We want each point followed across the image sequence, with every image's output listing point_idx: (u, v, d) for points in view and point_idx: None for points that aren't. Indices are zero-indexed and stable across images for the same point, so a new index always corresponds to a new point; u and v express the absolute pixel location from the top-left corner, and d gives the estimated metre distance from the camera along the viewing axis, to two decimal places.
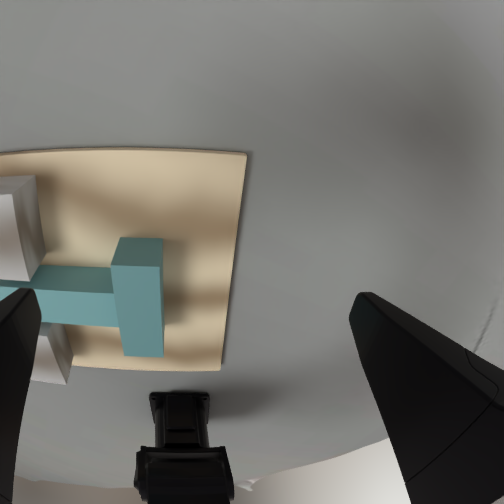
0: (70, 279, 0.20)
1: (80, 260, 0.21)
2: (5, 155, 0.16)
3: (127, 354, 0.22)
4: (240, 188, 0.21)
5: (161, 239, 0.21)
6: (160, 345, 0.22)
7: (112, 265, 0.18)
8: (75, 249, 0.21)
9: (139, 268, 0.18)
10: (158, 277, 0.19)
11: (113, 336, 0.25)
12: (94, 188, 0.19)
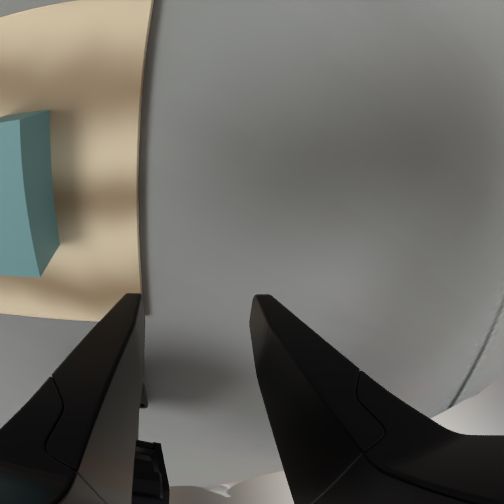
0: None
1: None
2: None
3: None
4: (144, 33, 0.12)
5: (47, 110, 0.13)
6: (31, 255, 0.13)
7: None
8: None
9: None
10: (18, 136, 0.10)
11: None
12: None
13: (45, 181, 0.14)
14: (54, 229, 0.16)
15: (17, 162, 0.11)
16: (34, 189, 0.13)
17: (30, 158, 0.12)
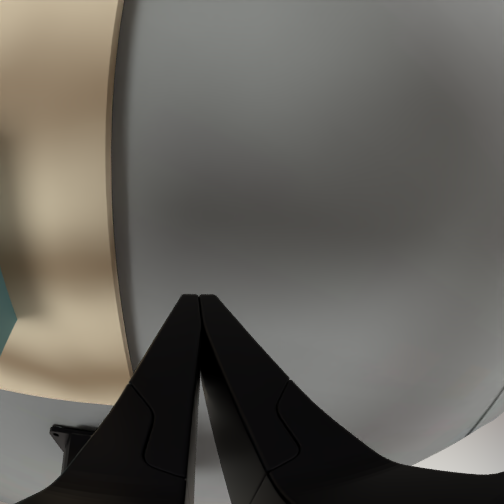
0: None
1: None
2: None
3: None
4: (113, 1, 0.06)
5: None
6: None
7: None
8: None
9: None
10: None
11: None
12: None
13: None
14: (5, 303, 0.10)
15: None
16: None
17: None
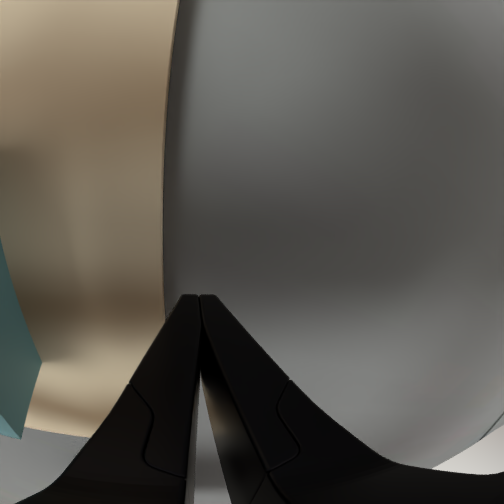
0: None
1: None
2: None
3: None
4: None
5: None
6: None
7: None
8: None
9: None
10: None
11: None
12: None
13: None
14: (28, 348, 0.09)
15: None
16: None
17: None
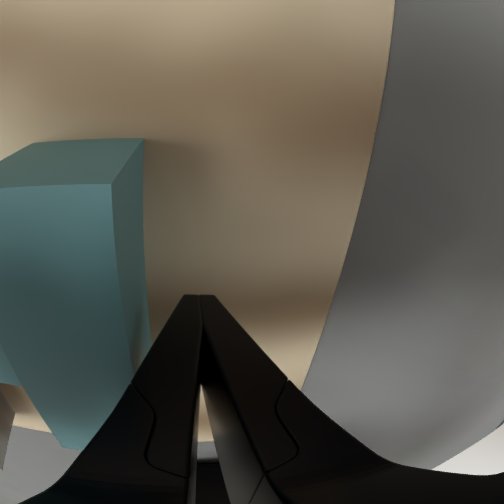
0: None
1: None
2: None
3: (68, 445, 0.07)
4: (388, 27, 0.06)
5: (139, 139, 0.07)
6: None
7: None
8: None
9: (36, 193, 0.04)
10: (109, 234, 0.04)
11: None
12: (16, 18, 0.05)
13: (142, 292, 0.08)
14: None
15: (106, 297, 0.05)
16: (136, 328, 0.07)
17: (128, 271, 0.06)
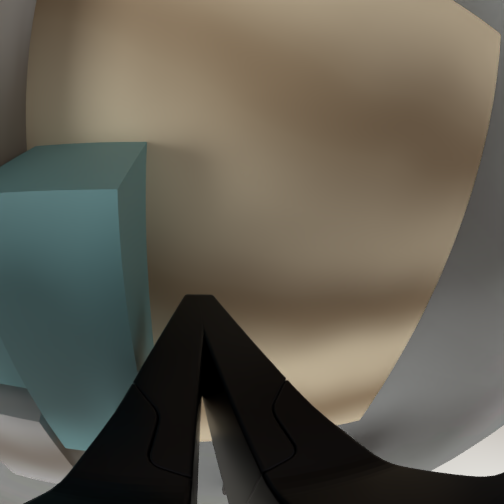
0: None
1: None
2: None
3: (71, 446, 0.07)
4: (493, 85, 0.08)
5: (142, 143, 0.07)
6: None
7: None
8: None
9: (43, 198, 0.04)
10: (114, 238, 0.04)
11: None
12: (209, 2, 0.06)
13: (145, 294, 0.08)
14: None
15: (112, 301, 0.05)
16: (140, 331, 0.07)
17: (133, 274, 0.06)
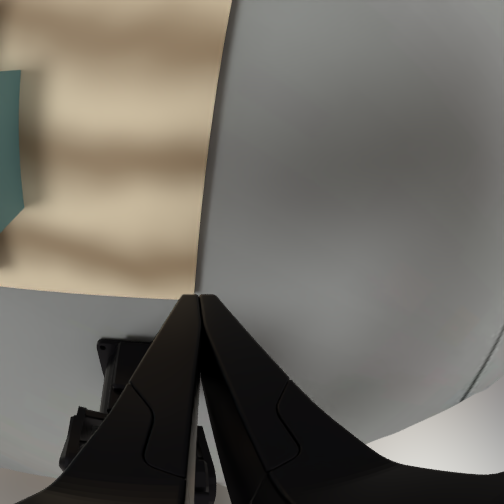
0: None
1: None
2: None
3: None
4: None
5: (18, 70, 0.11)
6: None
7: None
8: None
9: None
10: None
11: (43, 231, 0.16)
12: (46, 5, 0.10)
13: (10, 139, 0.12)
14: (18, 190, 0.14)
15: None
16: None
17: None
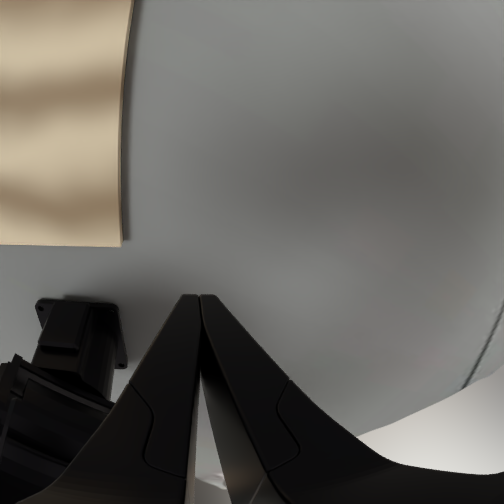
0: None
1: None
2: None
3: None
4: None
5: None
6: None
7: None
8: None
9: None
10: None
11: None
12: None
13: None
14: None
15: None
16: None
17: None
